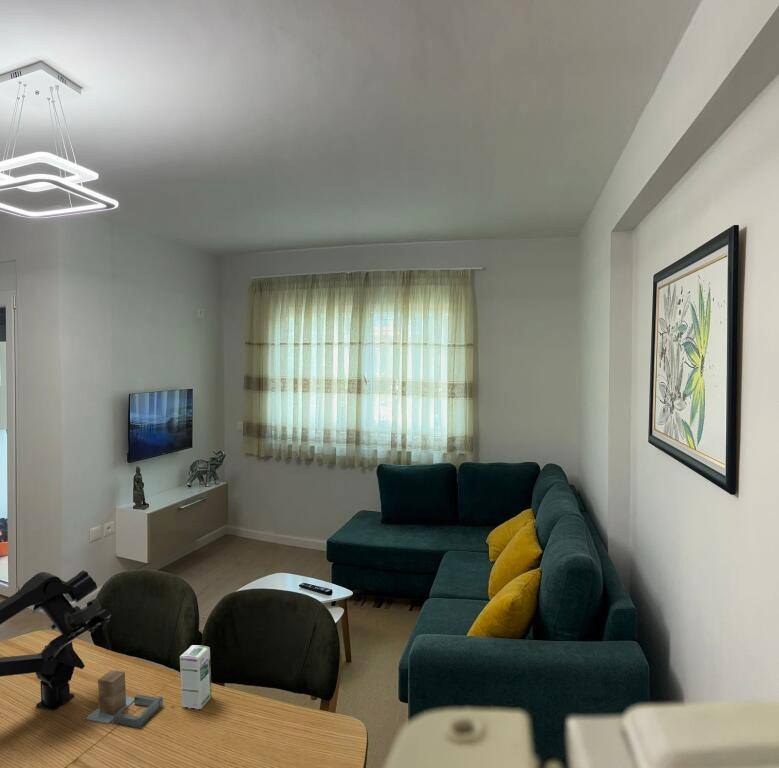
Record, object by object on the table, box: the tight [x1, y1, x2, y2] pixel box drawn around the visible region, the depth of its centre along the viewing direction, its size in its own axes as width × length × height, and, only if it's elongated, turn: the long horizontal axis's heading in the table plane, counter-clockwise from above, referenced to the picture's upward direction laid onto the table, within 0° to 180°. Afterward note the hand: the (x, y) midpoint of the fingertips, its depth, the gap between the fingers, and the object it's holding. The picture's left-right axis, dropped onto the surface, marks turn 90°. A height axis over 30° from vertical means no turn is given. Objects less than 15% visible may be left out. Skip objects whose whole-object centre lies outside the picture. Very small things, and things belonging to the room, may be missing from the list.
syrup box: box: [179, 644, 213, 710], centre depth 146 cm, size 6×6×14 cm
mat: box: [85, 696, 135, 725], centre depth 144 cm, size 7×10×1 cm
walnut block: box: [97, 669, 127, 715], centre depth 143 cm, size 4×4×9 cm
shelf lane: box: [112, 693, 164, 729], centre depth 141 cm, size 8×9×2 cm
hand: (97, 658), depth 144 cm, fingers open, 9 cm apart
